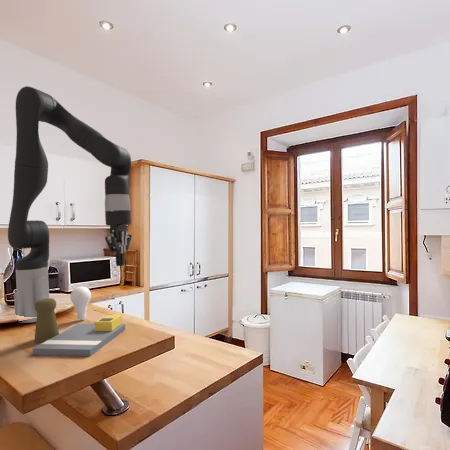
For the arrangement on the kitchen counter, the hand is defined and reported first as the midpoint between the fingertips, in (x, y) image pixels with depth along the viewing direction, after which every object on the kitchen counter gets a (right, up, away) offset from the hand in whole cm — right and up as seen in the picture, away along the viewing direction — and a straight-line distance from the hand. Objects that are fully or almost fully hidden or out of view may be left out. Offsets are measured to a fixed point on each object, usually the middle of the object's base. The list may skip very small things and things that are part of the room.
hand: (120, 265), depth 96 cm
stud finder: (0, -16, -8) cm, 18 cm away
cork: (-17, -19, -11) cm, 27 cm away
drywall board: (-5, -18, -14) cm, 23 cm away
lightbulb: (-14, -19, +5) cm, 24 cm away
